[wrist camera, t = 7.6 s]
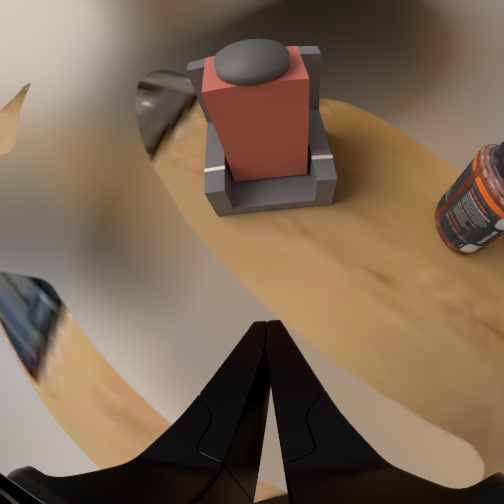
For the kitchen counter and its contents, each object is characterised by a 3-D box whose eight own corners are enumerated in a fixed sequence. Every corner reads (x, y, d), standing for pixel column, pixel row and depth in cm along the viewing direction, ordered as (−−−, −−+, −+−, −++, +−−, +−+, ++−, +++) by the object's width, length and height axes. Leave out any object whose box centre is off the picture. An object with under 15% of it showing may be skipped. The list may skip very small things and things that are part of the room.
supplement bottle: (471, 269, 19) (555, 219, 8) (424, 232, 21) (493, 157, 10) (486, 219, 20) (552, 159, 9) (442, 185, 22) (497, 107, 11)
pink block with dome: (307, 176, 22) (309, 69, 12) (235, 184, 23) (197, 84, 13) (299, 136, 24) (295, 35, 14) (234, 144, 24) (202, 47, 14)
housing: (332, 204, 23) (350, 121, 13) (217, 216, 24) (173, 142, 14) (315, 129, 25) (317, 45, 16) (217, 140, 26) (187, 62, 17)
